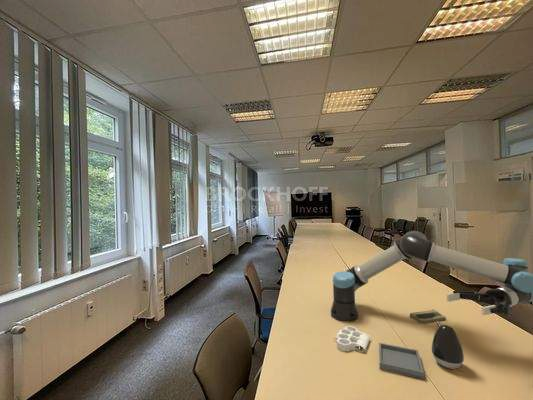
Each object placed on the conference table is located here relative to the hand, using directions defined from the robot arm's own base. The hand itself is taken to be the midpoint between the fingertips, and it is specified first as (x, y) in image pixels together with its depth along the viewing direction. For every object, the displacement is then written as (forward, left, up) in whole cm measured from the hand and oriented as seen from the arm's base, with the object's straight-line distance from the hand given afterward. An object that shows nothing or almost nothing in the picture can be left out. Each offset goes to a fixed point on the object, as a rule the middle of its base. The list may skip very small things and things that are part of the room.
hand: (464, 304), depth 100 cm
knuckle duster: (-44, -4, -23) cm, 49 cm away
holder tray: (-24, -12, -22) cm, 35 cm away
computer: (-7, +35, -23) cm, 42 cm away
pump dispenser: (-7, -6, -22) cm, 24 cm away
